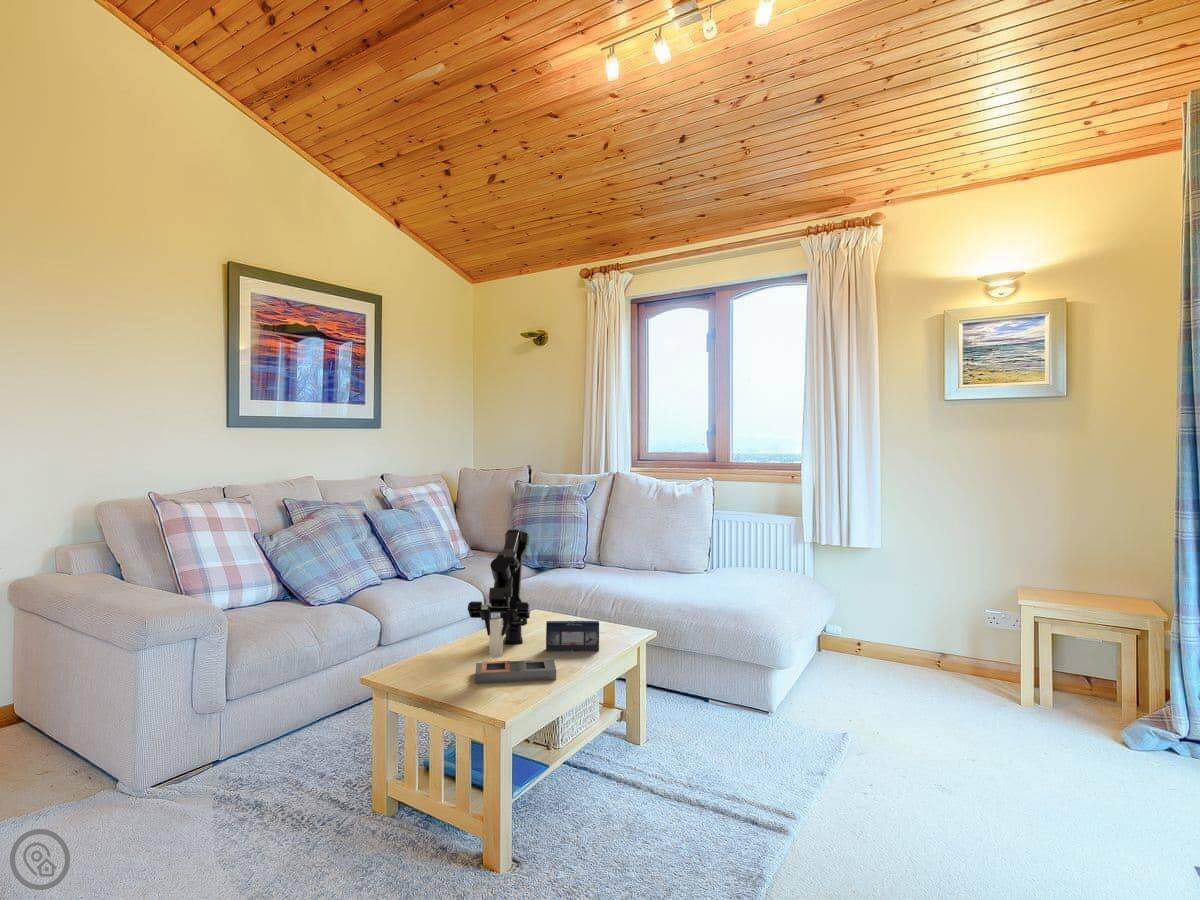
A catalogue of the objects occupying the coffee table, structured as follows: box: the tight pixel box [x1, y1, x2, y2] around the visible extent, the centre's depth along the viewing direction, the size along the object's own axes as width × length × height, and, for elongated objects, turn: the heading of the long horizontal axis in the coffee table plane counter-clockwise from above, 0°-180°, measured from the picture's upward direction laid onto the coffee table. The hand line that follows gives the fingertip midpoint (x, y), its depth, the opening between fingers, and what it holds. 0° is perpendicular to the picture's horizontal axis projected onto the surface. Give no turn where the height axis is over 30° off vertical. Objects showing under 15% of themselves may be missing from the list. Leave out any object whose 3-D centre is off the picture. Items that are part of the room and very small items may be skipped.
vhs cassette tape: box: [545, 620, 600, 652], centre depth 209 cm, size 18×3×10 cm, turn 91°
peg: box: [489, 617, 504, 659], centre depth 184 cm, size 4×4×11 cm
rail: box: [474, 658, 557, 685], centre depth 186 cm, size 9×24×3 cm, turn 99°
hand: (495, 635), depth 183 cm, fingers closed on peg, 4 cm apart
